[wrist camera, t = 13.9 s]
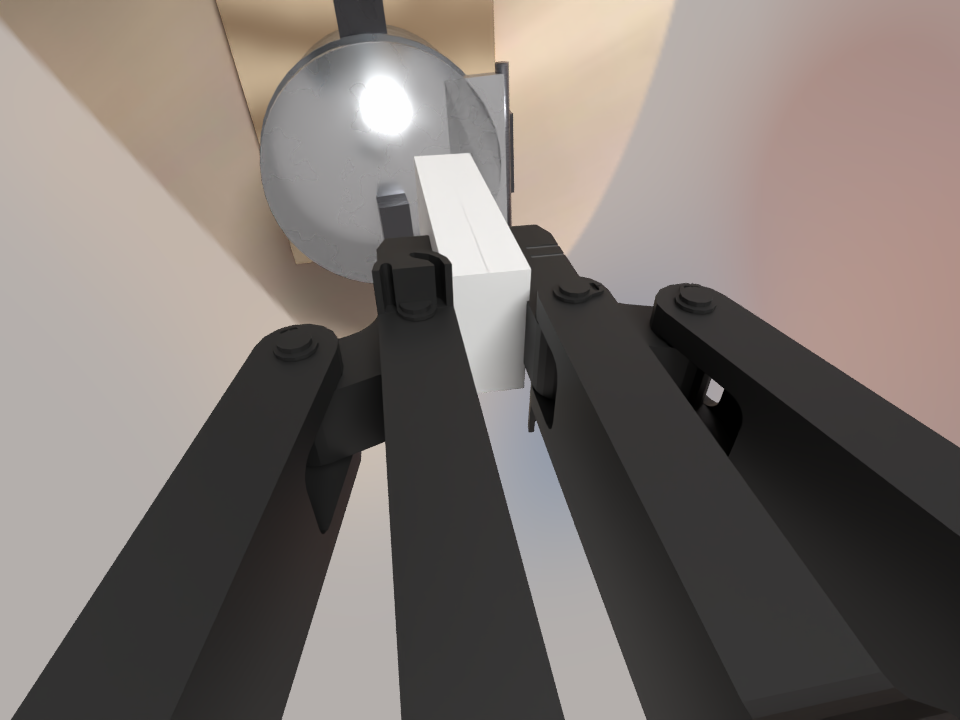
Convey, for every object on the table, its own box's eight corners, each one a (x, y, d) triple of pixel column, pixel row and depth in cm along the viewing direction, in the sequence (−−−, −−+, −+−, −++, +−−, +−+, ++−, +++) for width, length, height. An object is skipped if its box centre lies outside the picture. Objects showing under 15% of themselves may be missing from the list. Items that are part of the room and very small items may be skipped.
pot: (235, -25, 33) (203, -16, 26) (481, -43, 35) (512, -39, 28) (325, 300, 48) (320, 360, 41) (494, 276, 50) (516, 331, 43)
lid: (223, 54, 27) (217, 63, 25) (505, 26, 30) (520, 32, 28) (298, 294, 36) (298, 315, 34) (510, 257, 39) (521, 274, 37)
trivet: (211, -21, 34) (209, -21, 33) (490, -42, 36) (491, -42, 35) (296, 261, 46) (295, 264, 46) (499, 234, 48) (500, 237, 48)
